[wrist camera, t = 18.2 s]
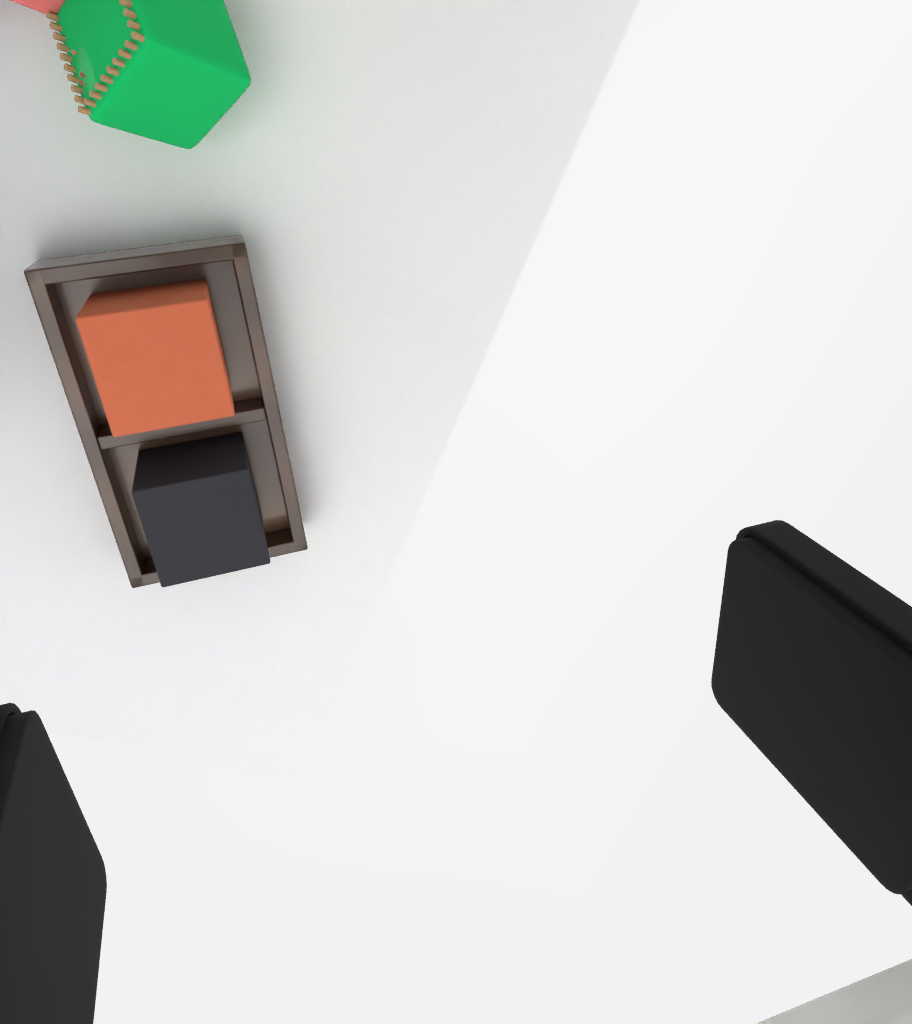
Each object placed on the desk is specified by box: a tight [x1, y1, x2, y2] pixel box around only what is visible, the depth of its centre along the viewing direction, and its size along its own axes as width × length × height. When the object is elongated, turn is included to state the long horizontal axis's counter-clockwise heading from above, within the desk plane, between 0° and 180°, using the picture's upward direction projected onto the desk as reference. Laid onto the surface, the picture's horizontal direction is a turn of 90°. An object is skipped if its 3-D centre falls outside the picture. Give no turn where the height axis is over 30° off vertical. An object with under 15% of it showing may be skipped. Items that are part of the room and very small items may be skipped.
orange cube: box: [76, 279, 235, 437], centre depth 30 cm, size 4×4×4 cm
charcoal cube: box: [132, 432, 270, 587], centre depth 33 cm, size 4×4×4 cm
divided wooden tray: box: [24, 235, 308, 588], centre depth 33 cm, size 14×8×2 cm, turn 5°
